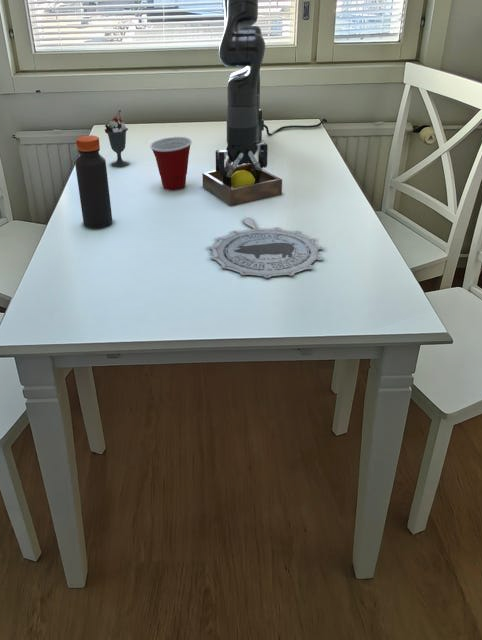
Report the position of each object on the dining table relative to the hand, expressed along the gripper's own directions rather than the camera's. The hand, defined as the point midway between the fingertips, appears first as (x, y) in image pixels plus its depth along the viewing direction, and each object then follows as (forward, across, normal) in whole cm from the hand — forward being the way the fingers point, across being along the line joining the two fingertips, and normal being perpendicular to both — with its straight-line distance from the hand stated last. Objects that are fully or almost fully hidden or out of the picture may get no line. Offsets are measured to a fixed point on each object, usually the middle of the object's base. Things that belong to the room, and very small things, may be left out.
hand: (241, 187), depth 164 cm
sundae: (+1, -20, +37) cm, 42 cm away
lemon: (+1, 0, 0) cm, 1 cm away
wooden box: (+1, 0, 0) cm, 1 cm away
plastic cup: (+1, -14, +12) cm, 18 cm away
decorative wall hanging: (+1, -12, -31) cm, 33 cm away
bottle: (+1, -40, -1) cm, 40 cm away
